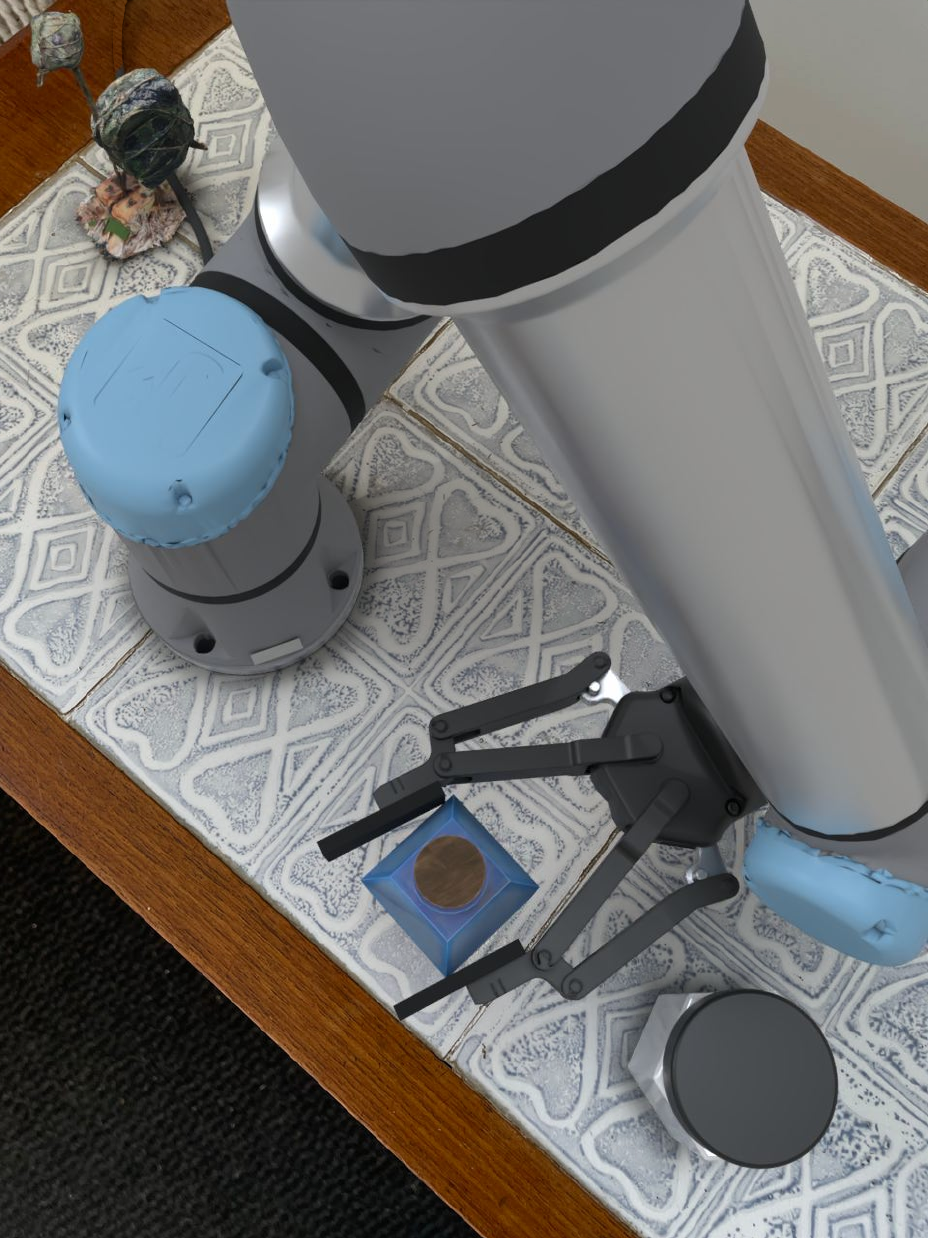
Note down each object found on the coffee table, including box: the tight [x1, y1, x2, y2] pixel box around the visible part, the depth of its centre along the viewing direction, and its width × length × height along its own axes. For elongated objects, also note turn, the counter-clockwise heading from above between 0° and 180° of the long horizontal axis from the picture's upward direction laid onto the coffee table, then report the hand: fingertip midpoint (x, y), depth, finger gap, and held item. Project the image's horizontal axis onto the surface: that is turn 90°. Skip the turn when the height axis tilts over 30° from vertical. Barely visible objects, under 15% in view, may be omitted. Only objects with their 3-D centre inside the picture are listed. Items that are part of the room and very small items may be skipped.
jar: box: [627, 988, 839, 1170], centre depth 60 cm, size 9×8×12 cm
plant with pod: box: [29, 11, 209, 263], centre depth 75 cm, size 8×11×20 cm
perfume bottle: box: [359, 793, 540, 978], centre depth 55 cm, size 6×6×12 cm
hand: (360, 930), depth 53 cm, fingers closed on perfume bottle, 8 cm apart
